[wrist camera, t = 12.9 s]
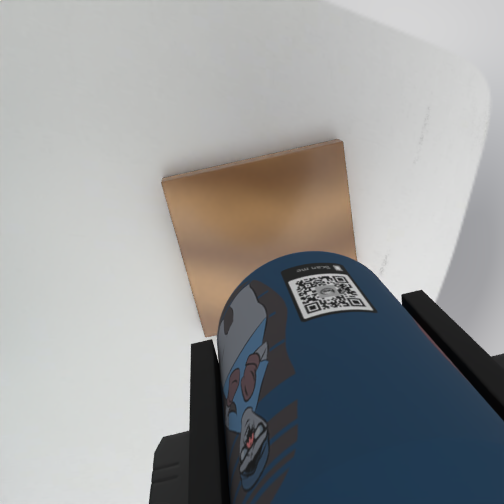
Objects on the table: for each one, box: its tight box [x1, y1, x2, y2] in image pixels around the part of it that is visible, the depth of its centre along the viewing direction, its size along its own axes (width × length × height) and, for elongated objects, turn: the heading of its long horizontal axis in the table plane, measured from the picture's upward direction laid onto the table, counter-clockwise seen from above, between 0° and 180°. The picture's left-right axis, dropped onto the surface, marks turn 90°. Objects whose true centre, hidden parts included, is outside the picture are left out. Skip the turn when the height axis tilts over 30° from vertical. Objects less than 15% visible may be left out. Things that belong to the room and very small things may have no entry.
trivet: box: [161, 139, 357, 337], centre depth 26 cm, size 10×10×1 cm
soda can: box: [217, 251, 504, 504], centre depth 13 cm, size 7×7×12 cm
